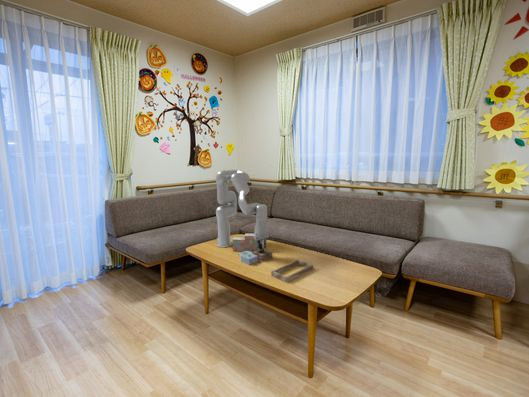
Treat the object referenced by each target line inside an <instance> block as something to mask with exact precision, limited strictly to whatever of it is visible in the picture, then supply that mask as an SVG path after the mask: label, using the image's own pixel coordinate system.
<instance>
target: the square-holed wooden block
mask: <svg viewBox="0 0 529 397" xmlns="http://www.w3.org/2000/svg"><path fill="white" fill-rule="evenodd" d="M251 252H252V254H254V255H257V256H258V261H261V262H264V261H266V260H267V261H268V260H269V259H272V258H273V251H270V250H268V249H266V248H264V253H260V250H257V251H251Z"/></svg>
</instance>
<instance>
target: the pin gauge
mask: <svg viewBox="0 0 529 397" xmlns="http://www.w3.org/2000/svg"><path fill="white" fill-rule="evenodd" d="M261 244H262V249H260V253H264V249H265V248H264V239H262V242H261Z"/></svg>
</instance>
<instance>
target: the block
mask: <svg viewBox="0 0 529 397" xmlns="http://www.w3.org/2000/svg"><path fill="white" fill-rule="evenodd" d="M240 262H242V263H243V264H246V265H248V266H250V265H252V264H255V263H258V262H259V260H258V256H257V255H254V254H252V253H248V254H245V255H242V256H241V257H240Z"/></svg>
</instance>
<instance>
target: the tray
mask: <svg viewBox="0 0 529 397" xmlns="http://www.w3.org/2000/svg"><path fill="white" fill-rule="evenodd" d="M252 252H253V251H240V252H239V253H238V254H237V255H238V257H240V258H241V256H242V255H245V254H248V253H252Z"/></svg>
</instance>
